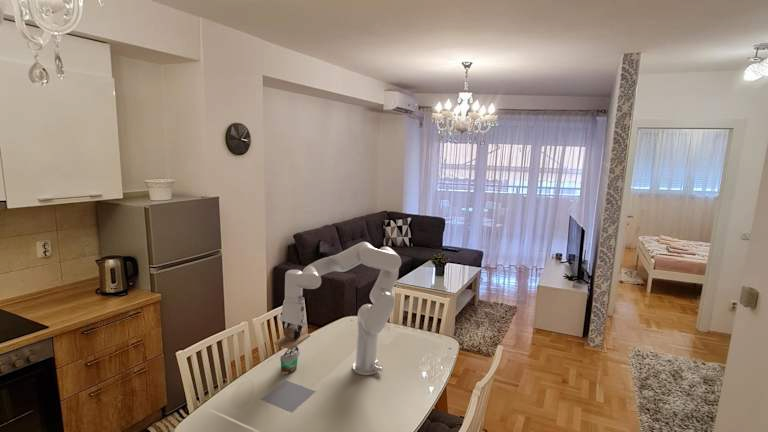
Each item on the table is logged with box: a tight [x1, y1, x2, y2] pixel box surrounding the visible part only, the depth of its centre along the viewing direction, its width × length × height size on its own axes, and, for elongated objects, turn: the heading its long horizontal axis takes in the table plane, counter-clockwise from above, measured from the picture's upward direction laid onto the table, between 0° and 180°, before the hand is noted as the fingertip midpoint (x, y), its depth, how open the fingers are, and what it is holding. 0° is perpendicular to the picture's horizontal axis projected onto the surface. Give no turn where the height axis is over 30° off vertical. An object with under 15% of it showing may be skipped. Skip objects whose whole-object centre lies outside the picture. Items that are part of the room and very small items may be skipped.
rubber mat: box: [260, 379, 317, 413], centre depth 169 cm, size 16×16×1 cm
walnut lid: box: [273, 324, 311, 350], centre depth 180 cm, size 9×14×6 cm, turn 156°
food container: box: [279, 345, 301, 375], centre depth 187 cm, size 12×6×10 cm, turn 168°
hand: (292, 336), depth 181 cm, fingers closed on walnut lid, 4 cm apart
